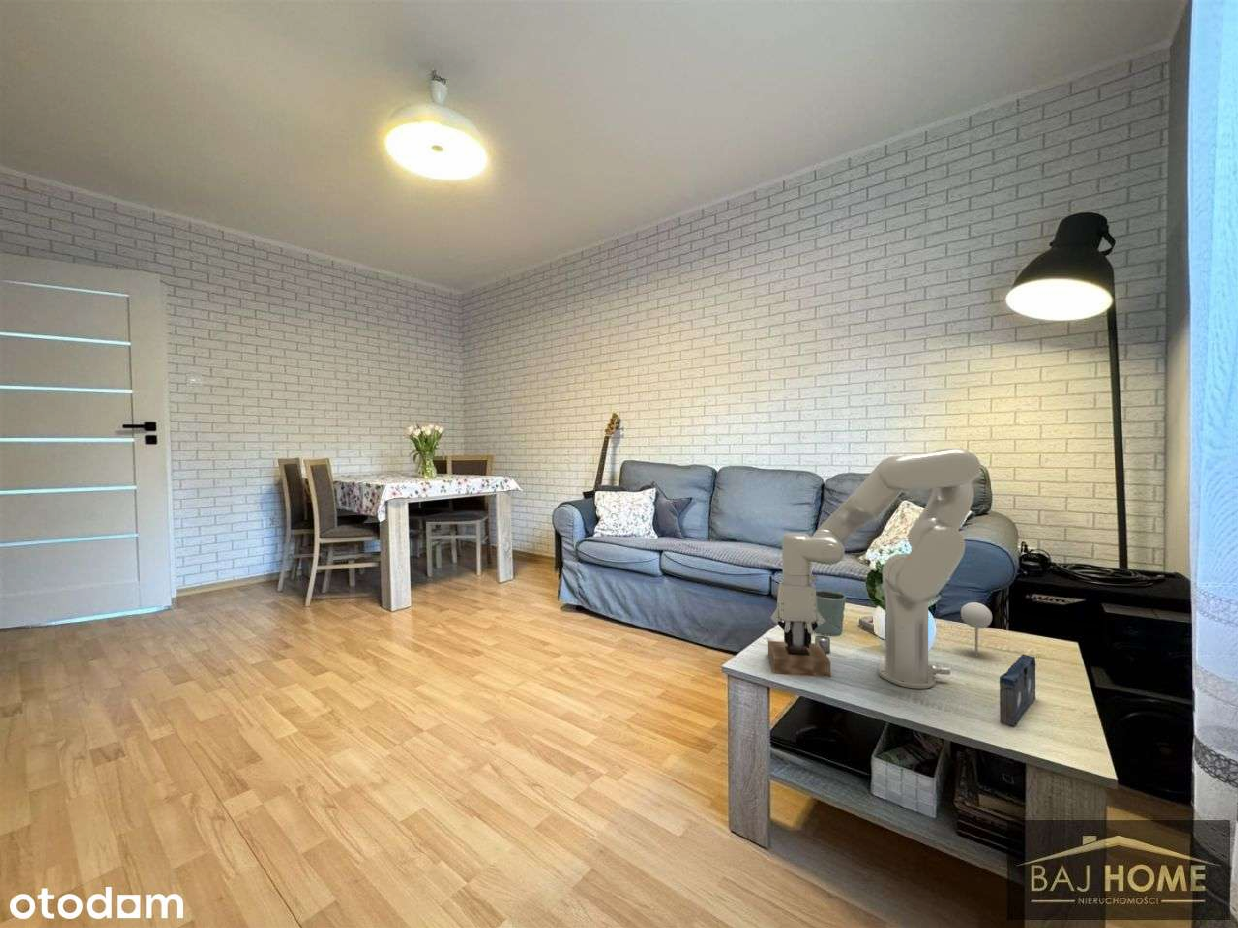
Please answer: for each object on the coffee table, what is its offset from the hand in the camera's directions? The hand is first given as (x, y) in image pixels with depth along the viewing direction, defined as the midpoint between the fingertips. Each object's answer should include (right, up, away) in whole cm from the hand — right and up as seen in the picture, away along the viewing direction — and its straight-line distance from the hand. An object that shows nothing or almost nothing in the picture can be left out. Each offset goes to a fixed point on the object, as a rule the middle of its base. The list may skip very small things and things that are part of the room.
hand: (797, 645), depth 130 cm
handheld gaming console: (+37, -5, +23) cm, 43 cm away
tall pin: (0, -5, 0) cm, 5 cm away
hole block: (0, -6, 0) cm, 6 cm away
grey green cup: (+19, -5, +25) cm, 32 cm away
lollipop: (+53, -5, +5) cm, 53 cm away
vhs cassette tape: (+41, -6, -24) cm, 47 cm away
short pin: (+11, -5, +9) cm, 15 cm away
